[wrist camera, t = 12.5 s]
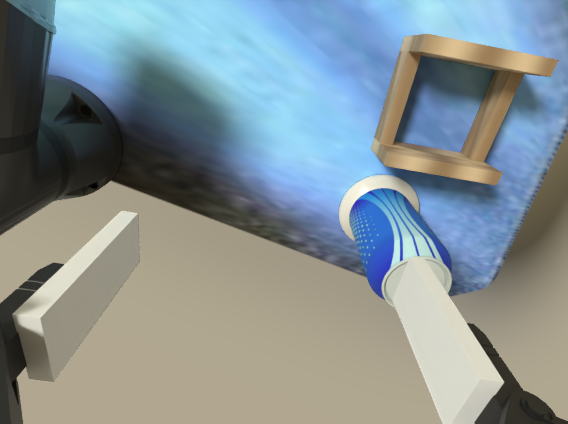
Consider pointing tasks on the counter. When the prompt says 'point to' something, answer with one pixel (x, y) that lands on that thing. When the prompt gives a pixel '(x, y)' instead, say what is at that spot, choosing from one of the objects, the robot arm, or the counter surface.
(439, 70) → the counter surface
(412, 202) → the trivet
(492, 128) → the oak holder
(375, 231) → the beer can
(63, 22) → the counter surface
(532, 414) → the robot arm
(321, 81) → the counter surface
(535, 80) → the counter surface
